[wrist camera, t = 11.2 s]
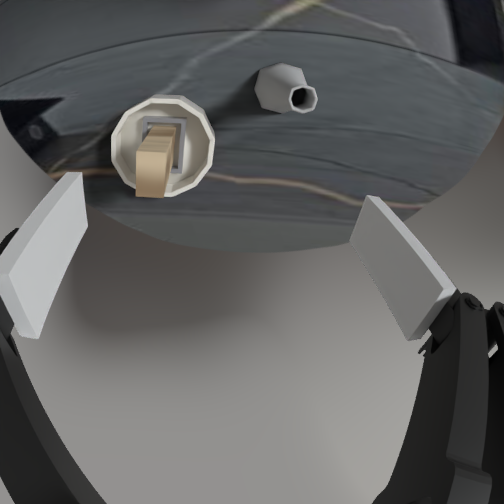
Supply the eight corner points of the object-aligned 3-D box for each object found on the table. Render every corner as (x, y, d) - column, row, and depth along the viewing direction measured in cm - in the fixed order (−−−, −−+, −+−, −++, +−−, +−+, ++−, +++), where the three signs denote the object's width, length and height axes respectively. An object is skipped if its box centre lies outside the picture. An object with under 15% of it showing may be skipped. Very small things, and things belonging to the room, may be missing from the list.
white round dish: (119, 94, 33) (112, 98, 30) (219, 98, 35) (220, 102, 33) (118, 183, 40) (113, 194, 38) (207, 187, 43) (208, 198, 40)
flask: (255, 114, 38) (269, 133, 30) (252, 63, 33) (266, 65, 25) (307, 112, 38) (334, 131, 30) (307, 62, 34) (336, 67, 26)
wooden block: (154, 125, 36) (136, 151, 27) (176, 126, 36) (166, 152, 28) (151, 160, 38) (135, 196, 30) (173, 161, 39) (163, 197, 30)
